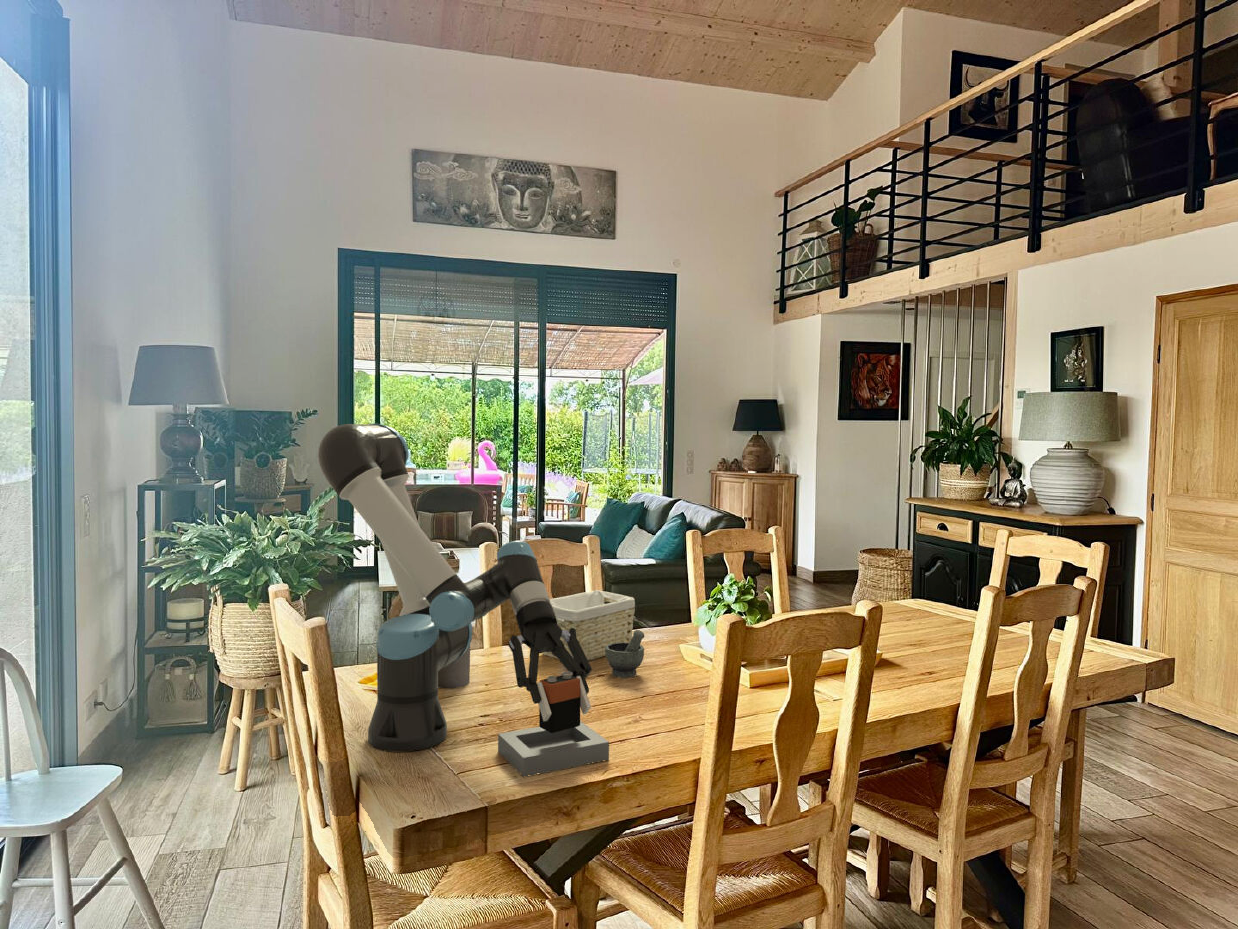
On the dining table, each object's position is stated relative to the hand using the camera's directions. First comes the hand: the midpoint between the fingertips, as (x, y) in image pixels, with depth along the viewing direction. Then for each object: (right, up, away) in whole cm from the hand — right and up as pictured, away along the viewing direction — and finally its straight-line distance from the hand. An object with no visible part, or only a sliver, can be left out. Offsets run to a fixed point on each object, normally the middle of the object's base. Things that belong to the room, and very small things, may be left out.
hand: (567, 714), depth 157 cm
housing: (-3, -9, +4) cm, 10 cm away
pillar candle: (-31, -7, +48) cm, 57 cm away
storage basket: (0, -6, +76) cm, 76 cm away
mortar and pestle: (+11, -7, +56) cm, 57 cm away
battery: (-2, -4, +3) cm, 5 cm away
